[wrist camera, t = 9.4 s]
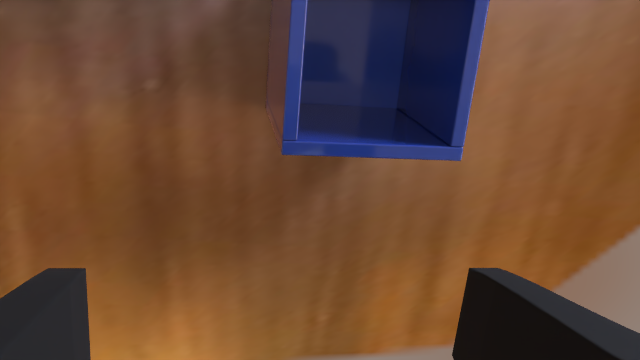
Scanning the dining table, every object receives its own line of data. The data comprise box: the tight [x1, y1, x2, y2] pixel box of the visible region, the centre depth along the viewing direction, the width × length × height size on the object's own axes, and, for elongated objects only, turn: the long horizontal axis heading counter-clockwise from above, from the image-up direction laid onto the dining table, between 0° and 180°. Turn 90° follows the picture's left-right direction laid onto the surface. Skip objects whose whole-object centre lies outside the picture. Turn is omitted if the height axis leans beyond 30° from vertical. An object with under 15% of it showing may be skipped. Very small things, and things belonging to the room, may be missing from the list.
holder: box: [266, 0, 490, 161], centre depth 16 cm, size 5×5×6 cm
